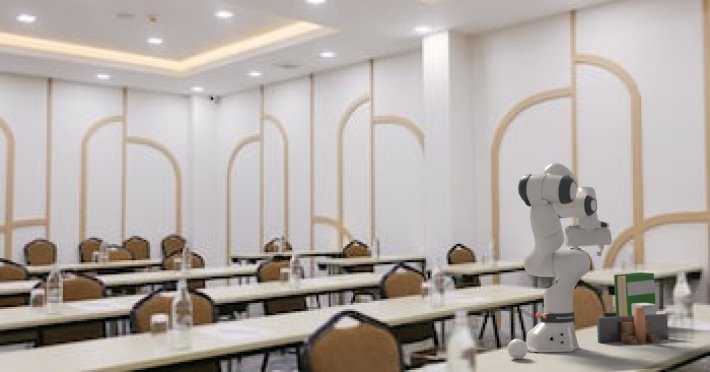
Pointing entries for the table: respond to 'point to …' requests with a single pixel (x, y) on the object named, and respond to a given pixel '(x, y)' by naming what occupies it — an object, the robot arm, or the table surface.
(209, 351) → the table surface
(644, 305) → the supplement box
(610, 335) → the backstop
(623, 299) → the hardback book
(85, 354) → the table surface
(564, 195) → the robot arm
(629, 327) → the notch block
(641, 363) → the table surface
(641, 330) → the dowel
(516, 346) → the seamed sphere
